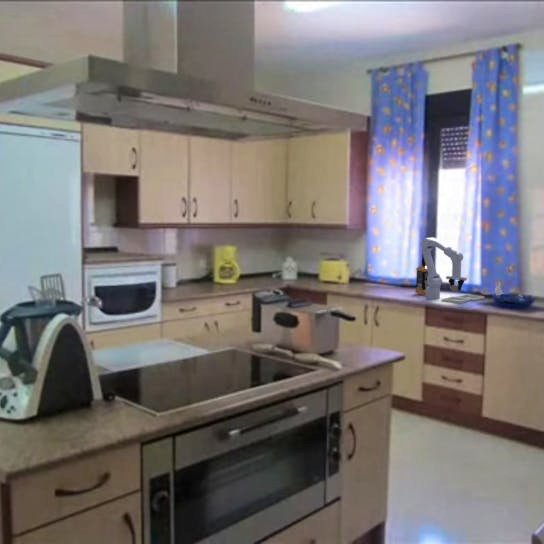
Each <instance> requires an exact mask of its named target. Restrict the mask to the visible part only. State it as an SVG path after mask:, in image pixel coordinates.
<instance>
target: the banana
mask: <svg viewBox="0 0 544 544" xmlns="http://www.w3.org/2000/svg"><path fill="white" fill-rule="evenodd" d="M497 284H498V285H497V286H496V287H495V289H494V292H495V295H496V296H497V295H501V294H505V293H504V292H503V291H502V288H501V285H502V283H501V281H500V280H498V283H497ZM520 296H521V297H523V295H520Z"/></svg>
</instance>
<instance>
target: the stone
mask: <svg viewBox="0 0 544 544" xmlns="http://www.w3.org/2000/svg"><path fill="white" fill-rule="evenodd" d="M460 292H462V290H461V291H458V284H454V285H452V289H451V293H460Z"/></svg>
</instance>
